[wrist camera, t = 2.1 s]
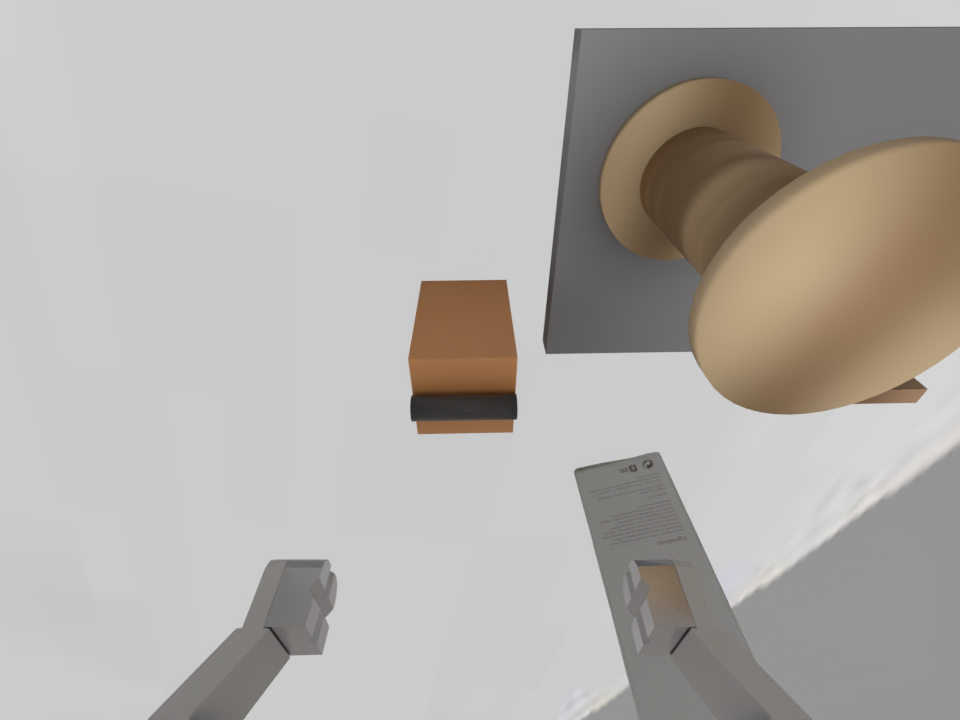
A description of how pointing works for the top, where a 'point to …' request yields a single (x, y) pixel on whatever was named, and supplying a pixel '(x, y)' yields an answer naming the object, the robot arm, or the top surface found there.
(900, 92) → the board
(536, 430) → the top surface
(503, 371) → the orange block
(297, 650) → the robot arm
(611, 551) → the skincare box
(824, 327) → the bobbin
